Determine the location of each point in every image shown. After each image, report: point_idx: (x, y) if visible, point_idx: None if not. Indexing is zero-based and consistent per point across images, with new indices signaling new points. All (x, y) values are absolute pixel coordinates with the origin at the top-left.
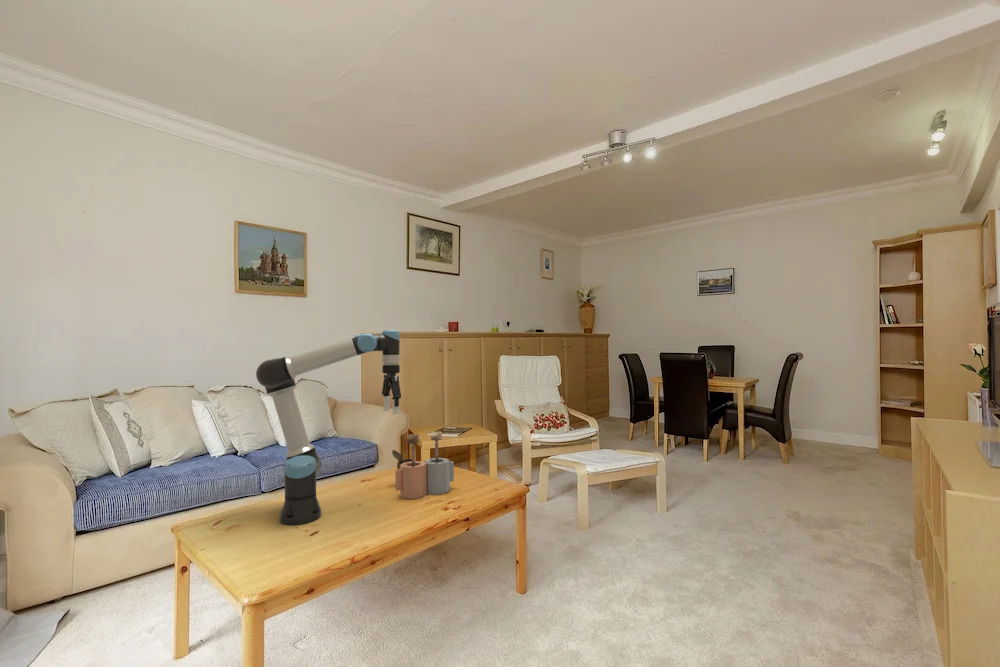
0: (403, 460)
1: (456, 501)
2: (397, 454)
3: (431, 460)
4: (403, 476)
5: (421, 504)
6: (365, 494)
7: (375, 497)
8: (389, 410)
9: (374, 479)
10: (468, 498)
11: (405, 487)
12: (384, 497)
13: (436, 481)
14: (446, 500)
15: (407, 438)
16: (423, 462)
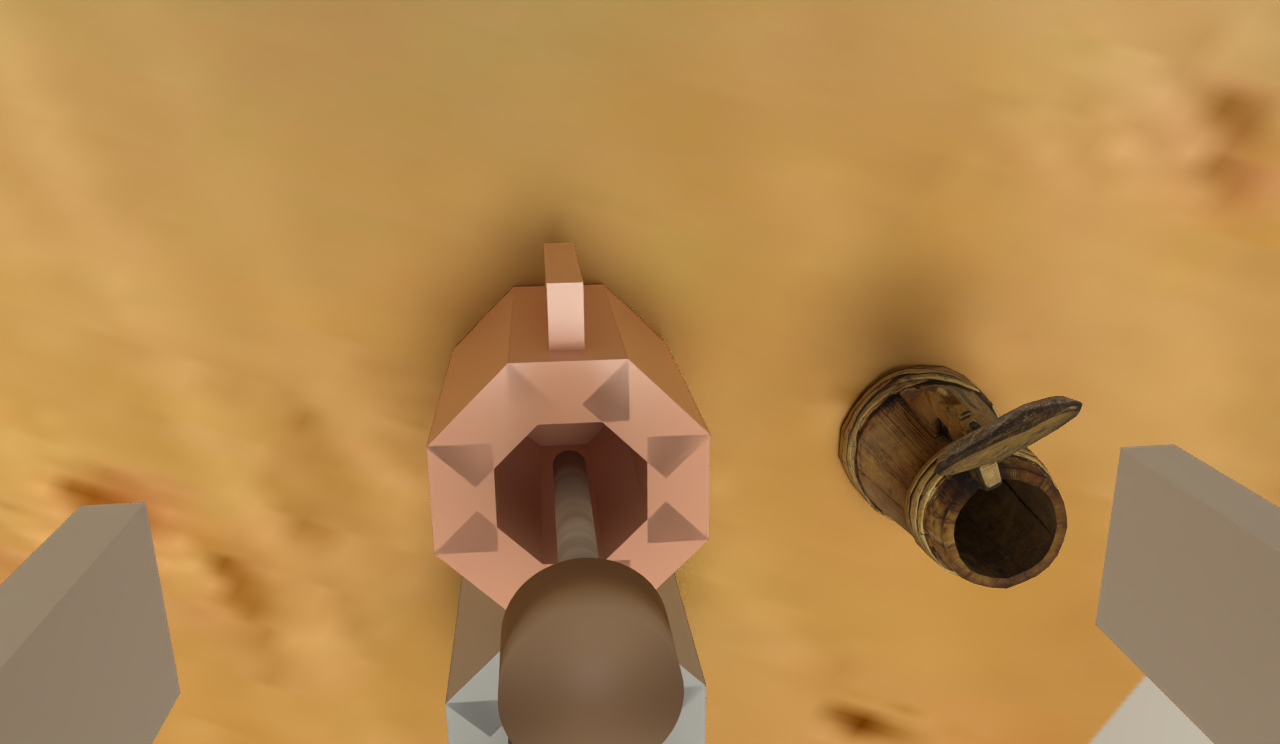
0: (984, 483)
1: (239, 622)
2: (967, 435)
3: None
4: (508, 336)
5: (295, 370)
6: (821, 17)
7: (683, 77)
8: (1098, 614)
9: (1208, 215)
10: (267, 716)
11: (497, 323)
12: (639, 149)
13: (462, 602)
14: (299, 567)
15: (602, 590)
16: None
